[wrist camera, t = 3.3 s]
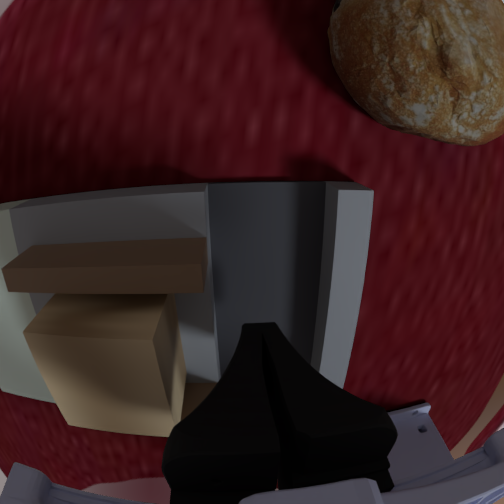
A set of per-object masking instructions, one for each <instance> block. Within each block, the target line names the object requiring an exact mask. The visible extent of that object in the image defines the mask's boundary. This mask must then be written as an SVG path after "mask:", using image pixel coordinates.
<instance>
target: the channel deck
mask: <svg viewBox="0 0 504 504" xmlns="http://www.w3.org/2000/svg"><path fill="white" fill-rule="evenodd" d="M373 195H374V191H373V190H371V189H369V188H367V187H365V186H363V185H361V184H359V183H357V182H336V181H248V182H216V183H193V184H175V185H159V186H145V187H133V188H121V189H110V190H100V191H90V192H81V193H72V194H64V195H56V196H48V197H41V198H34V199H27V200H20V201H14V202H8V203H2V204H0V388H1V390H2V391H4V392H8V393H12V394H16V395H20V396H24V397H29V398H33V399H38V400H43V401H47V402H53V403H56V402H55V400H54V398H53V397H52V395H51V393H50V391H49V389H48V387H47V385H46V383H45V381H44V379H43V377H42V375H41V373H40V371H39V369H38V367H37V364H36V362H35V360H34V358H33V356H32V353H31V351H30V349H29V347H28V344H27V342H26V339H25V337H24V334H23V331H24V329H25V328H26V327H27V326H28V325H29V323H30V322H31V321H32V320H33V319H34V317H35V316H36V315H37V314H38V313H39V312H40V310H41V309H42V308H43V307H44V306H45V305H46V303H47V302H48V301H49V300H50V299H51V298H52V297H53V295H54V294H55V293H62V294H172V293H174V295H175V302H176V309H177V316H178V323H179V329H180V335H181V342H182V348H183V354H184V359H185V365H186V370H187V375H186V382H185V389H184V396H183V404H182V412H181V420H183V419H184V418H185V417H186V416H188V415H189V414H190V413H191V412H192V411H193V410H194V409H195V408H196V407H197V406H198V405H199V404H200V403H201V402H202V401H203V400H204V399H205V398H206V397H207V395H208V394H209V393H210V392H211V391H212V389H213V388H214V387H215V385H216V384H217V383H218V381H219V380H220V378H221V377H222V375H223V373H224V372H225V370H226V368H227V366H228V364H229V363H230V361H231V359H232V357H233V354H234V352H235V350H236V347H237V345H238V342H239V339H240V335H241V330H242V325H243V324H244V323H264V322H275V323H276V324H277V325H278V326H279V328H280V330H281V331H282V332H283V334H284V335H285V337H286V338H287V339H288V341H289V342H290V343H291V344H292V346H293V347H294V348H295V349H296V350H297V351H298V353H299V354H300V355H301V356H302V357H303V358H304V359H305V360H306V361H307V362H308V363H309V364H310V365H311V366H312V367H313V368H314V369H316V370H317V371H318V372H319V373H320V374H322V375H323V376H324V377H325V378H327V379H328V380H329V381H331V382H332V383H334V384H335V385H337V386H339V387H340V388H342V389H343V386H344V381H345V377H346V373H347V368H348V364H349V359H350V355H351V350H352V345H353V340H354V335H355V330H356V324H357V319H358V313H359V308H360V302H361V296H362V289H363V283H364V276H365V269H366V262H367V254H368V246H369V237H370V228H371V218H372V207H373ZM181 420H180V421H181Z"/></svg>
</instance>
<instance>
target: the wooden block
mask: <svg viewBox="0 0 504 504" xmlns="http://www.w3.org/2000/svg"><path fill="white" fill-rule="evenodd" d="M23 334H24V337H25V339H26V342H27V344H28V347H29V349H30V351H31V353H32V356H33V358H34V360H35V362H36V364H37V367H38V369H39V371H40V373H41V375H42V377H43V379H44V381H45V383H46V385H47V387H48V389H49V391H50V393H51V395H52V397H53V398H54V400H55V402H56V404H57V406H58V407H59V409H60V411H61V413H62V414H63V416H64V418H65V420H66V421H67V423H68V425H73V426H78V427H84V428H90V429H96V430H103V431H110V432H118V433H127V434H137V435H148V436H162V437H169V435H170V433H171V431H172V429H173V427H174V426H175V425H176V424H178V423H179V422H180V420H181V412H182V404H183V396H184V389H185V382H186V375H187V370H186V365H185V359H184V354H183V348H182V342H181V335H180V329H179V323H178V316H177V309H176V302H175V295H174V293H172V294H62V293H55V294H54V295H53V297H52V298H51V299H50V300H49V301H48V302H47V303H46V305H45V306H44V307H43V308H42V309H41V310H40V312H39V313H38V314H37V315H36V316H35V317H34V319H33V320H32V321H31V322H30V323H29V325H28V326H27V327H26V328H25V329H24V331H23Z"/></svg>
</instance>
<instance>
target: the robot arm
mask: <svg viewBox="0 0 504 504" xmlns="http://www.w3.org/2000/svg"><path fill="white" fill-rule="evenodd" d="M430 407H431V406H430V404H429V403H423V404H419V405H416V406H412V407H408V408H404V409H400V410H396V411H392V412H388V413H387V412H386V410H385V408H383V407H380V406H378V405H375V404H372V403H370V402H367V401H365V400H363V399H360V398H358V397H356V396H354V395H352V394H350V393H349V392H347V391H345V390H343V389H342V388H340V387H339V386H337V385H335V384H334V383H332V382H331V381H329V380H328V379H327V378H325V377H324V376H323V375H322V374H320V373H319V372H318V371H317V370H316V369H314V368H313V367H312V366H311V365H310V364H309V363H308V362H307V361H306V360H305V359H304V358H303V357H302V356H301V355H300V354H299V353H298V351H297V350H296V349H295V348H294V347H293V346H292V344H291V343H290V342H289V341H288V339H287V338H286V337H285V335H284V334H283V332H282V331H281V330H280V328H279V326H278V325H277V324H276V323H275V322H264V323H244V324H243V325H242V330H241V335H240V339H239V342H238V345H237V347H236V350H235V352H234V354H233V357H232V359H231V361H230V363H229V364H228V366H227V368H226V370H225V372H224V373H223V375H222V377H221V378H220V380H219V381H218V383H217V384H216V385H215V387H214V388H213V389H212V391H211V392H210V393H209V394H208V395H207V397H206V398H205V399H204V400H203V401H202V402H201V403H200V404H199V405H198V406H197V407H196V408H195V409H194V410H193V411H192V412H191V413H190V414H189V415H188V416H186V417H185V418H184V419H183V420H181V421H180V422H179V423H178V424H176V425H175V426H174V427H173V429H172V431H171V433H170V435H169V437H168V440H167V443H166V446H165V449H164V453H163V460H162V472H163V474H164V476H165V478H166V480H167V482H168V484H169V486H170V488H171V496H170V504H493V503H494V502H496V501H497V500H499V499H500V498H502V497H504V428H503V429H501V430H499V431H497V432H495V433H494V434H493V435H491V436H490V437H489V438H488V440H487V441H486V442H485V444H484V446H483V447H481V448H479V449H477V450H475V451H473V452H471V453H469V454H466V455H464V456H462V457H460V458H457V459H455V460H454V459H453V457H452V456H451V454H450V452H449V450H448V448H447V446H446V444H445V443H444V441H443V439H442V437H441V435H440V434H439V432H438V430H437V428H436V427H435V425H434V423H433V421H432V420H431V418H430V416H429V415H428V412H429V410H430ZM277 479H278V489H279V490H277V491H275V489H276V485H277ZM0 504H155V503H146V502H139V501H132V500H125V499H119V498H113V497H108V496H103V495H98V494H94V493H89V492H85V491H81V490H77V489H73V488H69V487H65V486H62V485H58V484H55V483H52V482H51V481H50V479H49V478H48V477H47V476H46V475H45V474H44V473H42V472H41V471H39V470H37V469H34V468H31V467H28V466H25V465H22V464H20V463H17V462H15V463H14V464H13V466H12V469H11V471H10V474H9V476H8V478H7V481H6V483H5V486H4V489H3V491H2V494H1V496H0Z"/></svg>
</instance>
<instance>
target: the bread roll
mask: <svg viewBox="0 0 504 504" xmlns="http://www.w3.org/2000/svg"><path fill="white" fill-rule="evenodd" d="M327 33H328V38H329V44H330V54H331V59H332V64H333V66H334V68H335V70H336V72H337V74H338V76H339V78H340V79H341V81H342V83H343V85H344V86H345V88H346V90H347V91H348V92H349V94H350V95H351V97H352V98H353V99H354V101H355V102H356V103H357V104H358V105H359V106H360V107H361V108H363V109H364V110H365V111H366V112H367V113H368V114H369V115H370V116H371V117H372V118H373V119H375V120H376V121H377V122H379V123H380V124H382V125H383V126H385V127H387V128H390V129H392V130H397V131H400V132H402V133H407V134H413V135H417V136H421V137H426V138H429V139H432V140H435V141H441V142H444V143H448V144H458V145H461V146H476V145H481V144H486V143H487V142H489V141H491V140H493V139H495V138H497V137H499V136H501V135H502V134H503V133H504V3H503V2H502V0H336V2H335V4H334V7H333V11H332V16H330V26H329V28H328V31H327Z"/></svg>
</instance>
